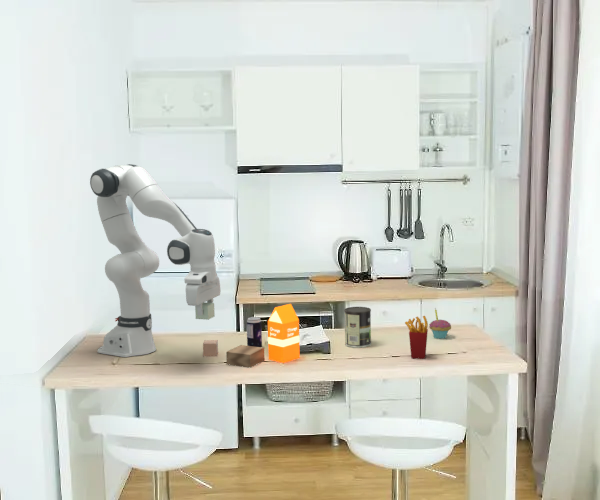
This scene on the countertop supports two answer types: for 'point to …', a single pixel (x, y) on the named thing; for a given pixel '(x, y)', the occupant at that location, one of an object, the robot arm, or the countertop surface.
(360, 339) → the coffee can
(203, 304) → the sage cube
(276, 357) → the orange juice
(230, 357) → the walnut block
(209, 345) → the terracotta cube
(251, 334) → the beverage can
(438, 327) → the cupcake
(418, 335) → the french fries
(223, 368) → the countertop surface
